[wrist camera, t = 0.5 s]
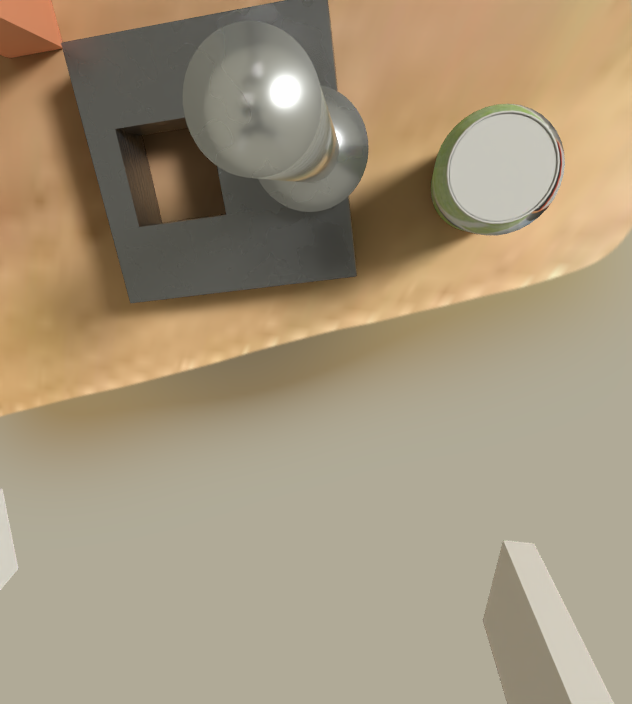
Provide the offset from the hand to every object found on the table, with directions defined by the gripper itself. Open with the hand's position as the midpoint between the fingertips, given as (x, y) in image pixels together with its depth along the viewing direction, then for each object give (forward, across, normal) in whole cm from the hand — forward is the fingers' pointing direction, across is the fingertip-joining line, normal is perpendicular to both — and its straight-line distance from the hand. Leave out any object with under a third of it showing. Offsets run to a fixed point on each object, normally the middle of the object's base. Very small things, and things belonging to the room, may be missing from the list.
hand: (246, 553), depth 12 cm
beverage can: (+26, +10, +10) cm, 29 cm away
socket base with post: (+26, -7, +10) cm, 28 cm away
